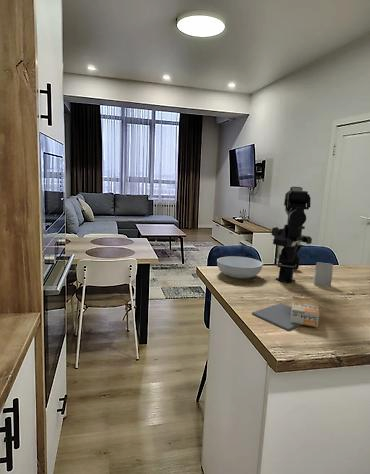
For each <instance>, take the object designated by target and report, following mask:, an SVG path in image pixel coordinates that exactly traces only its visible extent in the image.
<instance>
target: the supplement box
mask: <svg viewBox="0 0 370 474" xmlns="http://www.w3.org/2000/svg"><path fill="white" fill-rule="evenodd" d="M290 307H291V321H290V322H291V323H296V324H301V325H300V326H302V325H303V326H308V327H312V328H313V327H314V328H318V327H319V319H320V310H319V305H318V300H317V299H313V298H306V297H300V296H294V295H292V298H291V305H290Z"/></svg>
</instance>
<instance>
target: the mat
mask: <svg viewBox="0 0 370 474" xmlns="http://www.w3.org/2000/svg"><path fill="white" fill-rule="evenodd" d="M251 315H253V316H255V317H258V318H259V319H261V320H263V321H265V322H268V323H271V324H273V325H275V326H277V327H278V328H281V329H284V330H286V331H291V330H293V329H296V328H298V327H300V326H302V325H301V324H296V323H291V322H290V321H291V306H290V305H289V306H288V305H286V304H283V303H278V304H274V305H270V306H268V307H265V308H262V309H259V310H256V311H252V312H251Z"/></svg>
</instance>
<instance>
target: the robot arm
mask: <svg viewBox="0 0 370 474" xmlns="http://www.w3.org/2000/svg"><path fill="white" fill-rule="evenodd" d="M311 200H312V199H311V195H310V194H309V191H307V190H303V187H302V186H291V187H290V189H289V190H288V191H287V192H286V193H285V195H284V202H283V206H285V207H284V210H285V212H286V213H285V214H286V215H287V220H286V222H287V223H286V224H284V227H283V228H279V227H278V226H277V227H276V226H275V227H272V229H271V235H272V237H273V241H272V244H273V245H275V246H279V247H282V249H281V251H280V253H279V254H278V258H277V268H279V271H278V277H276V278H275V280H276V281H280V282H283V283H285V284H290V283H294V282H296V281H297V280H296V279H294V272H295V271H294V270H296V271H298V270H299V267H300V262H301V260H300V256H298V254H299V252H300V251H301V249H302V248H303V247H304V245H303V244H301V243H306V244H307V245H310V244H312V241H313V238H312V237H311V236H309V235H304V234H302V232H303V230H305V228H306V227H305V226H304V224H305V223H306V222H307V221H306V220H307V215H306V213H305V210H309V208H311Z"/></svg>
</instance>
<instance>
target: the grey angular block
mask: <svg viewBox="0 0 370 474" xmlns="http://www.w3.org/2000/svg"><path fill="white" fill-rule="evenodd" d="M333 267H334V264H333V263H326V262H320V261H319V262H318V261H317V262H316V263H315V268H314V274H313V280H312V283H313V285H314V286H317V287H328V288H331V286H332V279H333V270H334V269H333Z"/></svg>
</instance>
